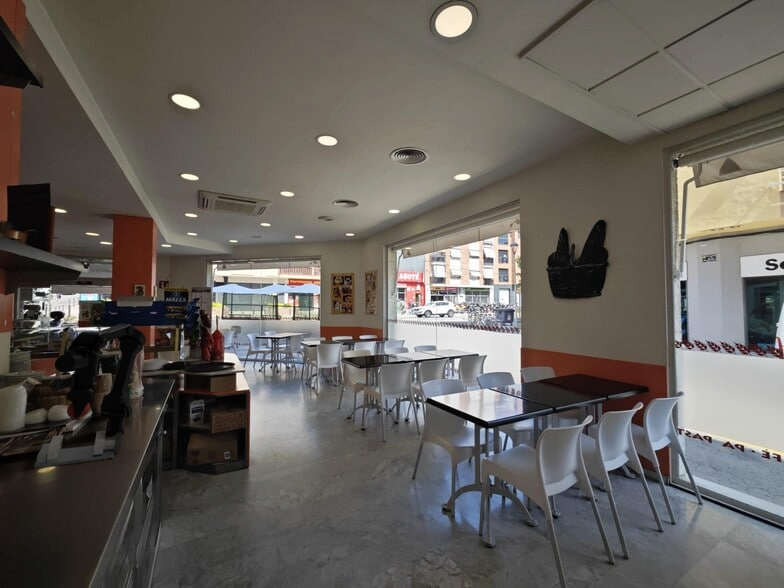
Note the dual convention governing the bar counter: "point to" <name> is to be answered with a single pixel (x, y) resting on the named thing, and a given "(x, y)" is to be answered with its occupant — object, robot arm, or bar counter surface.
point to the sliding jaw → (106, 443)
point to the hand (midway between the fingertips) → (77, 415)
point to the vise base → (67, 454)
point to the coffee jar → (129, 389)
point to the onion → (71, 411)
